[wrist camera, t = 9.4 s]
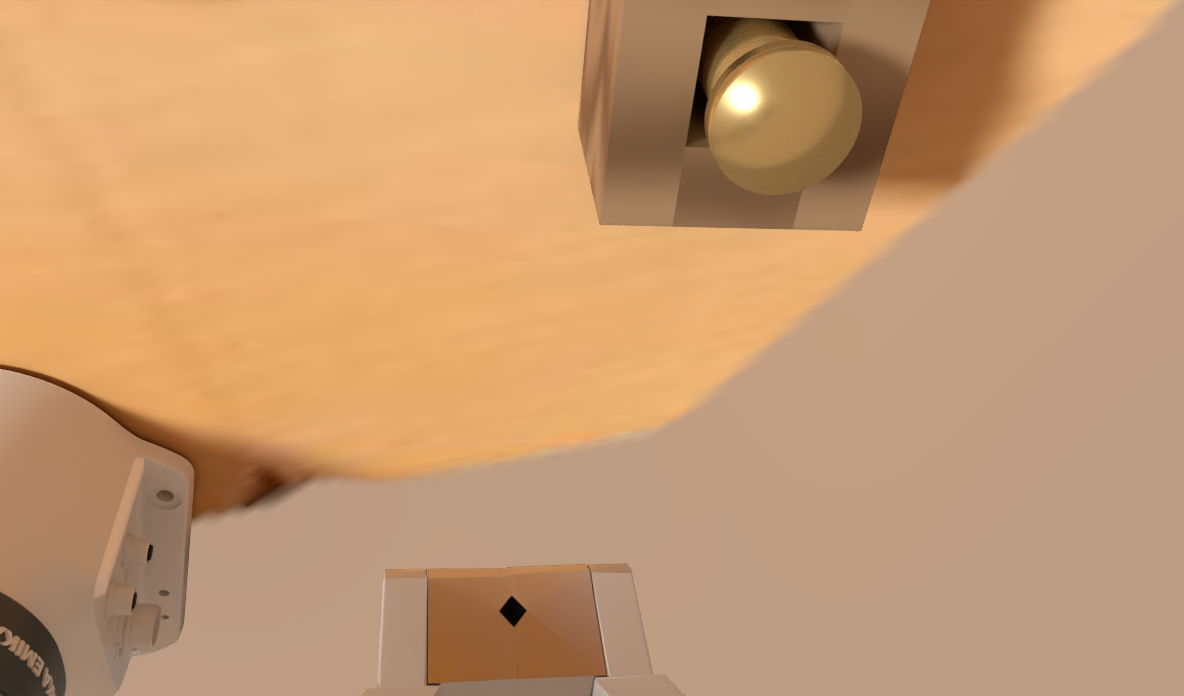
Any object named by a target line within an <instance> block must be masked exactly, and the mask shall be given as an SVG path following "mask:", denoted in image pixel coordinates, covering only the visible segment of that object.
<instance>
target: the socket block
mask: <svg viewBox="0 0 1184 696" xmlns="http://www.w3.org/2000/svg"><path fill="white" fill-rule="evenodd" d="M930 1H931V0H590V1H589V12H588V23H587V34H586V45H585V56H584V67H583V78H582V89H581V100H580V111H579V122H578V130H579V135H580V139H581V144H582V148H583V153H584V157H585V161H586V166H587V170H588V175H589V179H590V184H591V188H592V193H593V197H594V202H595V206H596V210H597V215H598V219H599V224H600V225H630V226H672V227H714V228H757V229H799V230H842V231H861V230H862V227H863V223H864V220H865V217H866V213H867V210H868V207H869V203H870V200H871V197H872V193H873V190H874V187H875V183H876V180H877V177H878V174H879V170H880V167H881V164H882V160H883V157H884V154H885V150H886V147H887V144H888V140H889V137H890V134H891V130H892V127H893V124H894V120H895V117H896V114H897V110H898V107H899V104H900V100H901V97H902V94H903V90H904V87H905V84H906V81H907V77H908V74H909V71H910V67H911V64H912V61H913V57H914V54H915V51H916V47H917V44H918V41H919V37H920V34H921V31H922V27H923V24H924V21H925V17H926V14H927V11H928V7H929V4H930ZM707 15H710V16H728V17H746V18H764V19H782V20H784V21H785V23H786V24H787V25H788V27H789V28H790V30H791V31H792V32H793V34H794V35H795V36H796V38H797V39H798V40H799V41H806V42H809V43H813V44H816V45H818V46H820V47H822V48H824V49H826V50H827V51H829V52H830V53H831V54H832V55H834V56H835V57H836V58H837V59H838V61H839V62H840V63H841V64H842V65H843V67H844V68H845V69H846V71H847V72H848V73H849V74H850V76H851V77H852V78H853V80H854V82H855V83H856V85H857V88H858V90H859V93H860V97H861V102H862V121H861V126H860V130H859V133H858V136H857V139H856V141H855V143H854V145H853V147H852V149H851V150H850V152H849V154H848V155H847V157H846V158H845V159H844V160H843V162H842V163H841V164H840V165H839V166H838V167H837V168H836V169H835V170H834V171H833V172H832V173H830V174H829V175H828V176H827V177H825V178H824V179H822V180H821V181H819V182H818V183H816V184H814V185H812V186H810V187H808V188H805V189H803V190H800V191H797V192H793V193H788V194H782V195H765V194H759V193H754V192H751V191H748V190H746V189H743V188H742V187H740V186H738V185H736V184H735V183H734V182H732V181H731V180H730V179H729V178H728V177H727V176H726V175H725V174H724V173H723V172H722V170H721V169H720V168H719V166H718V164H717V162H716V160H715V158H714V155H713V153H712V151H711V149H710V147H709V144H708V141H707V138H706V133H705V123H704V118H705V110H706V106H707V102H708V99H707V97H706V95H705V93H704V91H703V89H702V87H701V84H700V82H699V80H698V78H697V74H698V68H699V62H700V56H701V50H702V44H703V37H704V31H705V25H706V19H707Z"/></svg>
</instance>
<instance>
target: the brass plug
mask: <svg viewBox="0 0 1184 696" xmlns="http://www.w3.org/2000/svg"><path fill="white" fill-rule="evenodd" d="M697 78H698V80H699V82H700V84H701V87H702V89H703V91H704V93H705V95H706V97H707V99H708V102H707V106H706V110H705V118H704V123H705V133H706V138H707V141H708V144H709V147H710V149H711V151H712V153H713V155H714V158H715V160H716V162H717V164H718V166H719V168H720V169H721V170H722V172H723V173H724V174H725V175H726V176H727V177H728V178H729V179H730V180H731V181H732V182H734V183H735V184H736V185H738V186H740V187H742V188H743V189H746V190H748V191H751V192H754V193H759V194H765V195H782V194H788V193H793V192H797V191H800V190H803V189H805V188H808V187H810V186H812V185H814V184H816V183H818V182H819V181H821V180H822V179H824V178H825V177H827V176H828V175H829V174H830V173H832V172H833V171H834V170H835V169H836V168H837V167H838V166H839V165H840V164H841V163H842V162H843V160H844V159H845V158H846V157H847V155H848V154H849V152H850V150H851V149H852V147H853V145H854V143H855V141H856V139H857V136H858V133H859V130H860V126H861V121H862V102H861V97H860V93H859V90H858V88H857V85H856V83H855V82H854V80H853V78H852V77H851V76H850V74H849V73H848V72H847V71H846V69H845V68H844V67H843V65H842V64H841V63H840V62H839V61H838V59H837V58H836V57H835V56H834V55H832V54H831V53H830V52H829V51H827V50H826V49H824V48H822V47H820V46H818V45H816V44H813V43H809V42H806V41H799V40H798V39H797V38H796V36H795V35H794V34H793V32H792V31H791V30H790V28H789V27H788V25H787V24H786V23H785V21H784V20H782V19H764V18H746V17H728V16H710V15H707V19H706V25H705V31H704V37H703V44H702V50H701V56H700V62H699V68H698V74H697Z"/></svg>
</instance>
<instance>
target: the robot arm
mask: <svg viewBox="0 0 1184 696" xmlns="http://www.w3.org/2000/svg"><path fill="white" fill-rule="evenodd" d="M194 477H195V473H194V468H193V466H192V465H191V463H190V462H189V461H187V460H186V459H185V458H183V457H182V456H180V455H178V454H176V453H174V452H172V451H169V450H167V449H165V448H162V447H160V446H157V445H155V444H152V443H150V442H147V441H144V440H142V439H139V438H138V437H136V436H135V435H133V434H131V433H130V432H129V431H127V430H126V429H124V428H123V427H122V426H121V425H120V424H118V423H117V422H116V421H115V420H113V419H112V418H111V417H110V416H108V415H107V414H106V413H105V412H103V411H102V410H100V409H99V408H98V407H96V406H95V405H93V404H91V403H90V402H88V401H87V400H85V399H83V398H81V397H80V396H78V395H76V394H74V393H72V392H70V391H68V390H66V389H64V388H61V387H59V386H57V385H54V384H52V383H49V382H47V381H44V380H41V379H38V378H35V377H32V376H28V375H25V374H21V373H17V372H13V371H8V370H3V369H0V696H113V695H114V694H115V693H116V692H117V691H118V690H119V688H120V686H121V684H122V681H123V679H124V676H125V673H126V670H127V667H128V664H129V661H130V658H133V657H137V656H142V655H145V654H148V653H152V652H155V651H158V650H160V649H162V648H165V647H167V646H169V645H171V644H173V643H175V642H176V641H177V640H178V638H179V635H180V633H181V630H182V628H183V623H184V614H185V601H186V587H187V574H188V559H189V546H190V532H191V518H192V505H193V491H194ZM164 490H167V491H164ZM169 491H170V492H169ZM359 696H685V695H684V694H683V693H682V692H681V691H680V690H679V689H678V688H677V687H676V686H675V685H674V684H673V683H672V681H670V680H669V679H668V677H667V676H666V675H653V671H652V666H651V662H650V657H649V652H648V647H647V643H646V638H645V633H644V628H643V624H642V619H641V614H640V609H639V604H638V600H637V595H636V590H635V585H634V581H633V576H632V571H631V569H630V568H629V566H628V565H627V564H598V565H596V564H595V565H587V566H586V565H585V564H576V565H552V566H526V567H508V568H507V569H428V585H427V569H398V570H397V569H396V570H385V573H384V578H383V584H382V604H381V622H380V642H379V661H378V681H377V688H368V689H364V690H363V692H362V693H361V694H360V695H359Z"/></svg>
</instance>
